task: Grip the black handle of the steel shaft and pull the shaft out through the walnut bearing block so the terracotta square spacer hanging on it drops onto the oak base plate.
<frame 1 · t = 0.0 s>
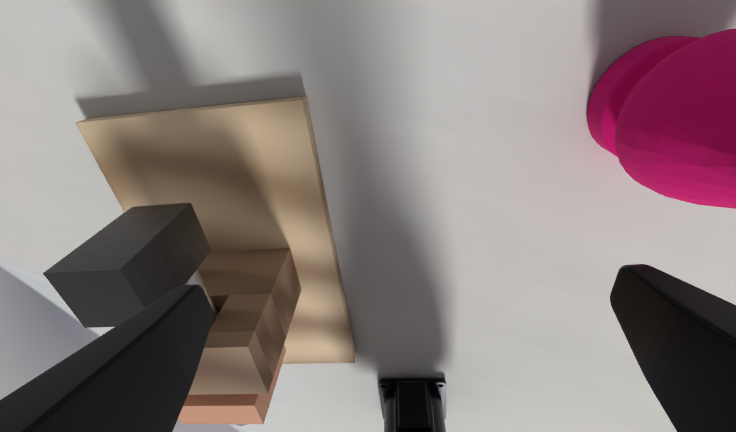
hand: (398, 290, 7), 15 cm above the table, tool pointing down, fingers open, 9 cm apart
pepper mill: (643, 98, 19), on the table
spacer: (248, 342, 25), point 4 cm above the table, touching shaft
shaft: (195, 354, 19), point 8 cm above the table, slide at 0.0 cm, touching spacer
base plate: (247, 258, 26), on the table
bearing block: (249, 263, 26), resting on base plate
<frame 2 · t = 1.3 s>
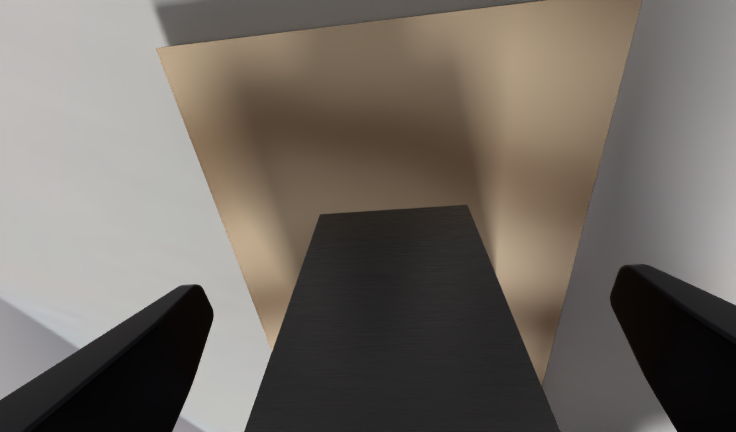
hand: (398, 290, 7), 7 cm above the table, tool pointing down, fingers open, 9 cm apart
base plate: (402, 292, 16), on the table
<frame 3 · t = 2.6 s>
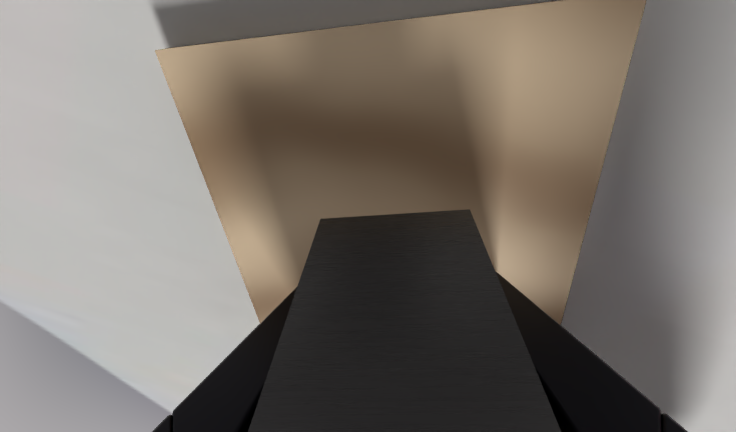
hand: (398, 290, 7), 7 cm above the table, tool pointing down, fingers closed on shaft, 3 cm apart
base plate: (403, 295, 16), on the table
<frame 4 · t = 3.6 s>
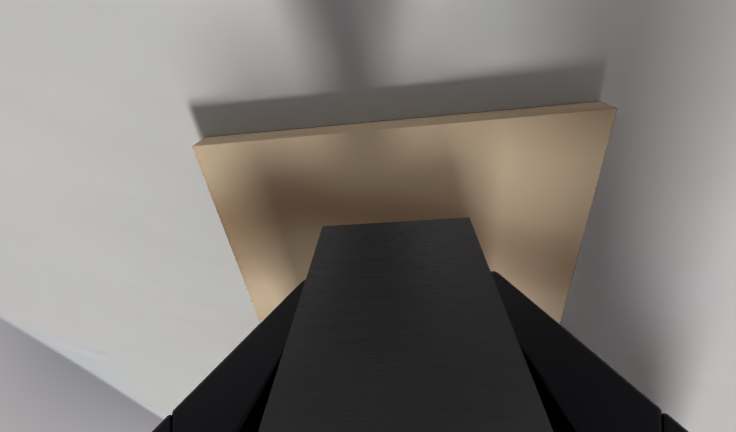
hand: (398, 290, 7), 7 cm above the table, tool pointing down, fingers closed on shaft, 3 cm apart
base plate: (406, 337, 18), on the table
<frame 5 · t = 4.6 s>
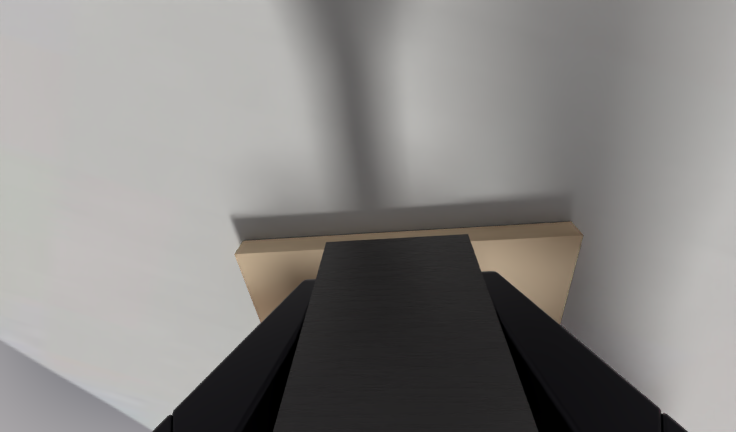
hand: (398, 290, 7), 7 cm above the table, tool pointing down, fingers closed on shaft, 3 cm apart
base plate: (410, 390, 20), on the table
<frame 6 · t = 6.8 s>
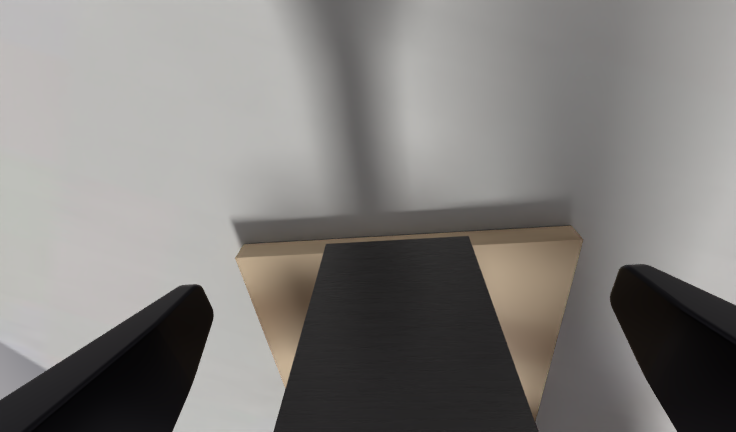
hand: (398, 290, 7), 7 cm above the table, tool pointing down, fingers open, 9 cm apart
base plate: (410, 393, 20), on the table
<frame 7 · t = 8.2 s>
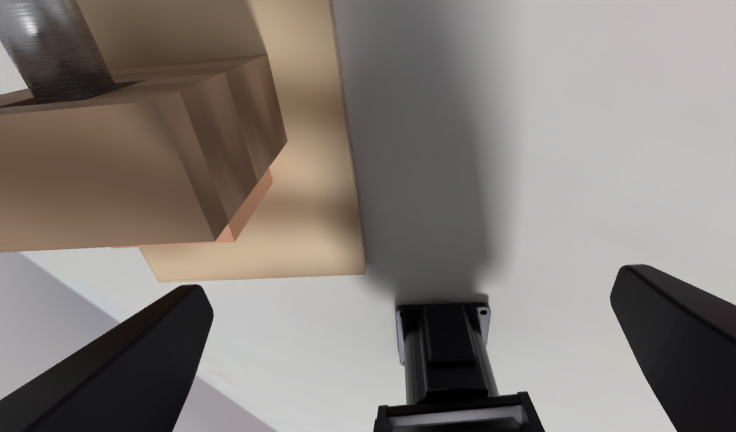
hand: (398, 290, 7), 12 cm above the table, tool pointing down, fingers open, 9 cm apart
spacer: (219, 168, 18), point 1 cm above the table, touching base plate
base plate: (203, 92, 17), on the table
bearing block: (207, 102, 17), resting on base plate
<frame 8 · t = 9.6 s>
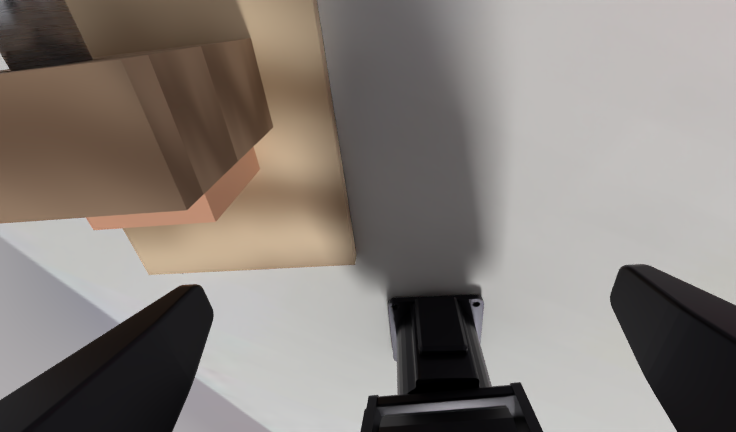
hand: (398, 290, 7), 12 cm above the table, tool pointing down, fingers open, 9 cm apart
spacer: (206, 155, 18), point 1 cm above the table, touching base plate
base plate: (190, 79, 17), on the table
bearing block: (194, 90, 17), resting on base plate
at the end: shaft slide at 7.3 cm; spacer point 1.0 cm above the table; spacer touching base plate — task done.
